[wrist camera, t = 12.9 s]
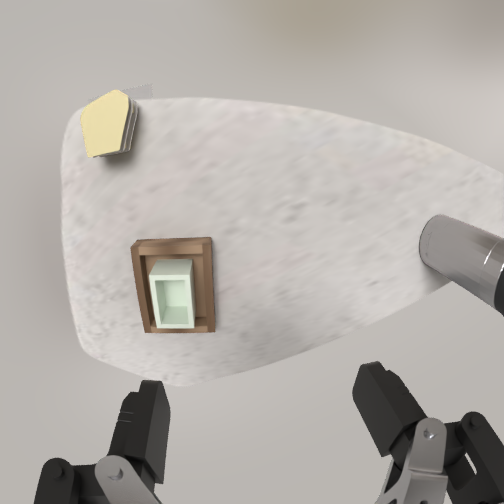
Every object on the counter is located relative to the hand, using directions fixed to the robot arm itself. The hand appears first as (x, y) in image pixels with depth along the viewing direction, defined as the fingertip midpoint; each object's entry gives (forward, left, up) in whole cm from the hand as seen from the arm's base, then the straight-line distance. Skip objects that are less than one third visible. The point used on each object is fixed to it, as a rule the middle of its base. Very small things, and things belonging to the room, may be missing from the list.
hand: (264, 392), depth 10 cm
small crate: (+7, +7, -25) cm, 27 cm away
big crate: (+7, +7, -26) cm, 28 cm away
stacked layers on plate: (+14, -13, -27) cm, 33 cm away
